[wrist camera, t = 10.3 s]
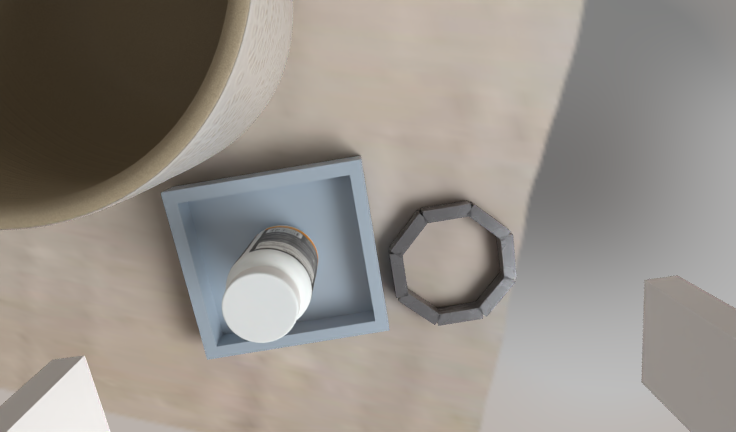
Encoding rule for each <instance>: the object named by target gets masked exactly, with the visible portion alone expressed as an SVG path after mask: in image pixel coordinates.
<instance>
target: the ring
mask: <svg viewBox="0 0 736 432" xmlns="http://www.w3.org/2000/svg"><path fill="white" fill-rule="evenodd" d="M468 216H469V217H470V218H472V219H473V220H475V221H476V222H477V223H479V224H480V225H482V226H483V227H484V228H486V229H487V230H488V231H490V232H491V233H493V234H494V235H495V236H497V246H498V257H499V267H500V273H499V274H498V275H497V277H496V278H495V279H494V280H493V281H492V283H491V284H490V285H489V286H488V287H487V289H486V290H485V291H484V292H483V294H482V295H481V296H480V297H479V298H478V300H477V301H476V302H472V303H466V304H460V305H454V306H447V307H441V308H436V307H435V306H433V305H432V304H430V303H429V302H427V301H426V300H424V299H423V298H421V297H420V296H418V295H417V294H416V293H414V292H413V291H411V290H410V289H408V288H407V282H406V276H405V269H404V263H403V256H402V255H403V254H404V253H405V252H406V250H407V249H408V248H409V246H410V245H411V244H412V242H413V241H414V240H415V239H416V237H417V236H418V235H419V233H420V232H421V231H422V230H423V228H424V227H425V226H426V224H427V223H431V222H437V221H444V220H450V219H456V218H462V217H468ZM510 232H511V231H510V230H509V229H508V228H506V227H505V226H504V225H502V224H501V223H500V222H498V221H497V220H496V219H494V218H493V217H491V216H490V215H489V214H487V213H486V212H485V211H483V210H482V209H481V208H479V207H478V206H476V205H475V204H474V203H472V202H470V203H469V202H468V201H461V202H454V203H448V204H442V205H436V206H430V207H424V208H421V212H419V211H418V210H417V211H416V212H415V214H414V215H413V216H412V218H411V219H410V220H409V222H408V223H407V224H406V226H405V227H404V228H403V229H402V231H401V232H400V233H399V235H398V236H397V237H396V239H395V240H394V241H393V243H392V244H391V245H390V250H389V255H390V262H391V268H392V274H393V280H394V287H395V293H396V298H398V301H399V302H401V303H402V304H404V305H405V306H407V307H409V308H410V309H412V310H413V311H415V312H416V313H418V314H419V315H421V316H422V317H424V318H425V319H427V320H428V321H430V322H431V323H433V324H434V325H435V324H436V323H438V326H439V325H446V324H452V323H458V322H464V321H471V320H477V319H483V315H485V316H486V317H487V315H488V314H489V313H490V312H491V311H492V309H493V308H494V307H495V306H496V305H497V304H498V302H499V301H500V300H501V299H502V298H503V296H504V295H505V294H506V293H507V292H508V290H509V289H510V288H511V287H512V286H513V285H514V283H515V281H514V279H516V278H517V275H516V263H515V252H514V241H513V234H512V233H510Z"/></svg>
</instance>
